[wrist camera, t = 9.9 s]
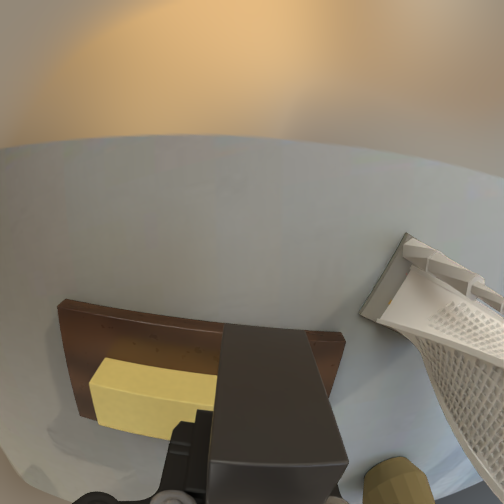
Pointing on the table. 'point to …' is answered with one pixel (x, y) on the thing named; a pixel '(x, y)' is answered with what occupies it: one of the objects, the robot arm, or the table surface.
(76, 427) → the table surface
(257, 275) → the table surface
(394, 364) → the table surface
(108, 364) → the butter
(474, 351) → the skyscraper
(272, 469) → the knife
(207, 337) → the board
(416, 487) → the squeeze bottle
